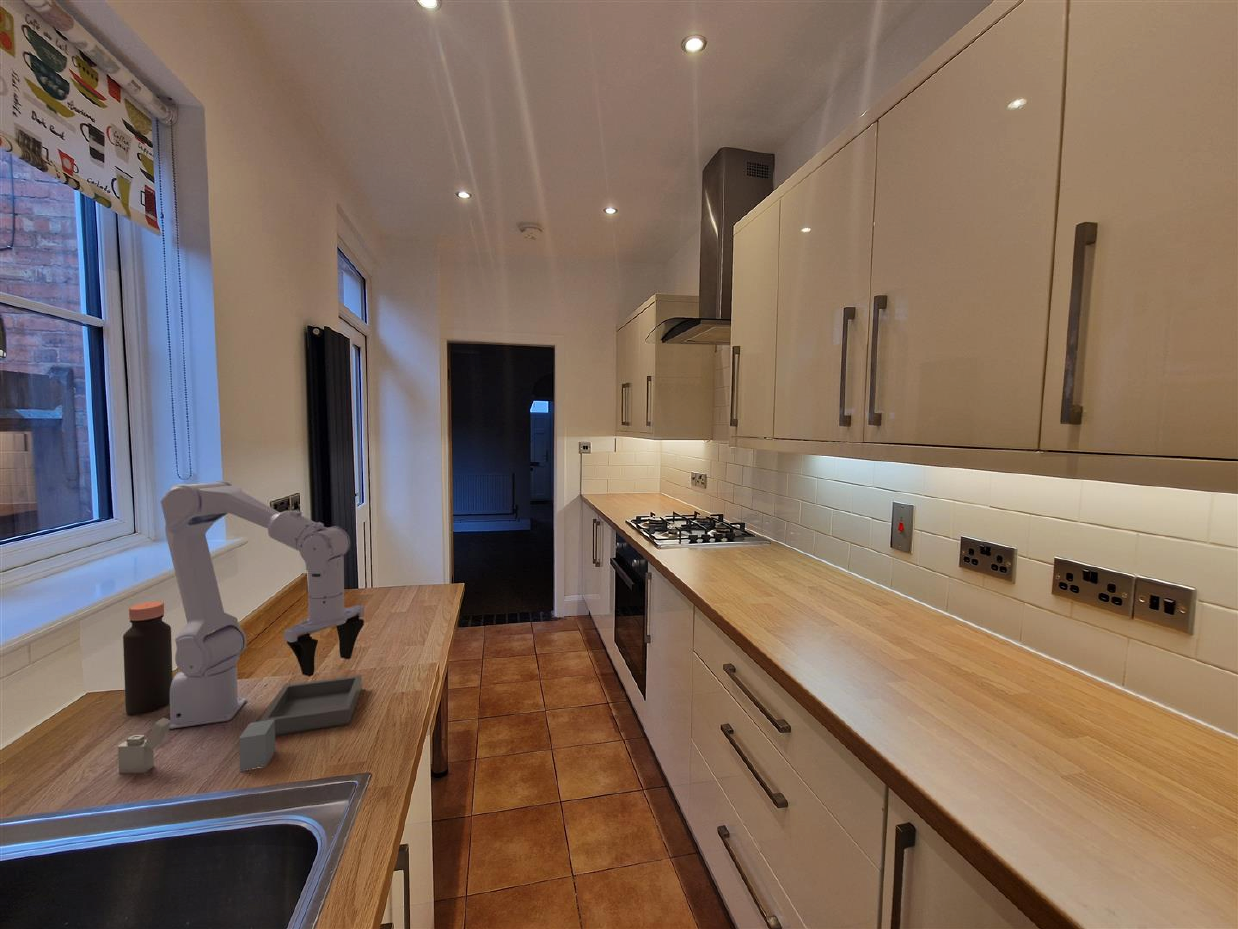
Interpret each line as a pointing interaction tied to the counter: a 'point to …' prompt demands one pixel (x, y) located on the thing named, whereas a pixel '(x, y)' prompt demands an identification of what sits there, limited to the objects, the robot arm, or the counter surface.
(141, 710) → the bottle
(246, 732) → the tall grey cuboid
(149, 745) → the lighter
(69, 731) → the counter surface
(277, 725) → the dark grey square tray
